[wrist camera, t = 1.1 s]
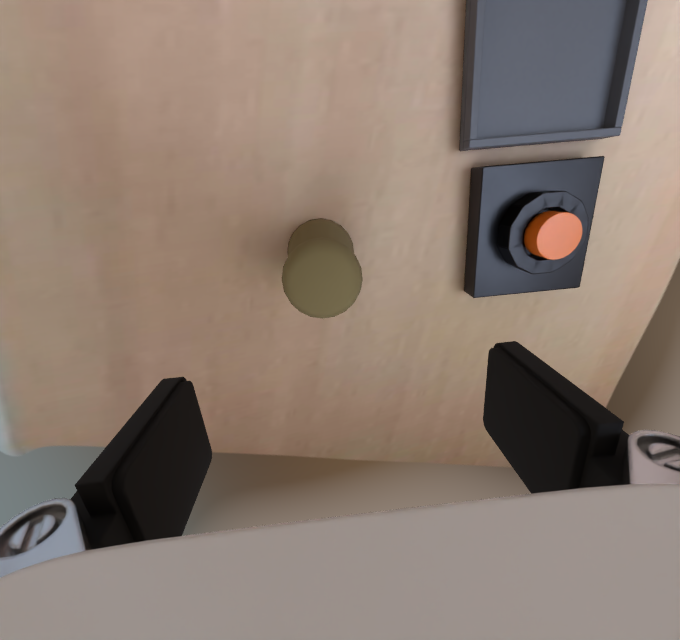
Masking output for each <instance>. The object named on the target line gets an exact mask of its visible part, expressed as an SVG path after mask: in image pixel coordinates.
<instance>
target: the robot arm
mask: <svg viewBox="0 0 680 640" xmlns="http://www.w3.org/2000/svg"><path fill="white" fill-rule="evenodd" d="M483 422H484V426H485V428H486V430H487V432H488V433H489V435H490V436H491V437H492V439H493V440H494V442H495V443H496V444H497V446H498V447H499V449H500V450H501V452H502V453H503V454H504V456H505V457H506V459H507V460H508V461H509V463H510V464H511V466H512V467H513V468H514V470H515V471H516V473H517V474H518V475H519V477H520V478H521V479H522V481H523V482H524V484H525V485H526V487H527V488H528V489H529V491H530V492H531V494H525V495H515V496H507V497H499V498H490V499H480V500H472V501H463V502H454V503H446V504H437V505H428V506H420V507H412V508H404V509H395V510H386V511H378V512H370V513H361V514H354V515H345V516H337V517H328V518H321V519H312V520H304V521H296V522H288V523H281V524H272V525H264V526H257V527H249V528H241V529H233V530H225V531H217V532H209V533H201V534H193V535H186V536H182V534H183V531H184V529H185V526H186V524H187V521H188V519H189V516H190V513H191V511H192V508H193V506H194V503H195V501H196V498H197V496H198V493H199V491H200V488H201V486H202V483H203V480H204V478H205V475H206V473H207V470H208V468H209V465H210V462H211V459H212V450H211V446H210V443H209V439H208V436H207V432H206V429H205V425H204V422H203V418H202V415H201V411H200V408H199V404H198V401H197V397H196V394H195V390H194V387H193V384H192V382H191V381H187V380H186V379H185V378H184V377H178V378H168V379H163V380H162V381H161V382H160V383H159V384H158V385H157V386H156V388H155V389H154V390H153V391H152V393H151V394H150V395H149V396H148V397H147V399H146V400H145V401H144V402H143V403H142V405H141V406H140V407H139V408H138V409H137V411H136V412H135V413H134V414H133V415H132V417H131V418H130V419H129V420H128V421H127V423H126V424H125V425H124V426H123V427H122V429H121V430H120V431H119V432H118V434H117V435H116V436H115V437H114V438H113V440H112V441H111V442H110V443H109V444H108V446H107V447H106V448H105V449H104V450H103V452H102V453H101V454H100V455H99V457H98V458H97V459H96V460H95V461H94V463H93V464H92V465H91V466H90V467H89V469H88V470H87V471H86V472H85V473H84V475H83V476H82V477H81V478H80V480H79V481H78V482H77V483H76V484H75V487H76V489H77V492H76V493H75V494H74V496H73V497H72V498H71V499H67V498H55V499H51V500H47V501H43V502H41V503H39V504H37V505H34V506H32V507H30V508H28V509H26V510H24V511H23V512H21V513H19V514H18V515H16V516H15V517H13V518H12V519H11V520H9V521H8V522H7V523H5V524H4V525H3V526H2V527H1V528H0V640H680V437H679V436H676V435H673V434H670V433H666V432H661V431H656V430H640V431H635V432H633V433H632V434H630V435H628V434H627V433H626V432H624V431H623V430H622V427H623V423H624V421H622V420H621V419H619V418H618V417H617V416H615V415H614V414H613V413H611V412H610V411H608V410H607V409H606V408H605V407H603V406H602V405H601V404H599V403H598V402H597V401H595V400H594V399H593V398H591V397H590V396H589V395H587V394H586V393H585V392H583V391H582V390H581V389H579V388H578V387H577V386H575V385H574V384H573V383H571V382H570V381H569V380H567V379H566V378H565V377H563V376H562V375H561V374H559V373H558V372H557V371H555V370H554V369H553V368H551V367H550V366H549V365H547V364H546V363H545V362H543V361H542V360H541V359H539V358H538V357H537V356H535V355H534V354H533V353H531V352H530V351H529V350H527V349H526V348H525V347H523V346H522V345H521V344H519V343H518V342H516V341H513V342H504V343H496V344H495V346H494V348H491V349H490V350H489V355H488V367H487V379H486V391H485V403H484V415H483Z"/></svg>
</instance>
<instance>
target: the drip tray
mask: <svg viewBox="0 0 680 640" xmlns="http://www.w3.org/2000/svg"><path fill="white" fill-rule="evenodd" d="M647 1H648V0H466V19H465V40H464V62H463V84H462V106H461V127H460V149H459V150H460V151H466V150H477V149H489V148H500V147H512V146H523V145H535V144H547V143H558V142H570V141H581V140H593V139H602V138H608V137H614V136H619V135H620V133H621V127H622V124H623V119H624V114H625V109H626V104H627V99H628V94H629V89H630V84H631V79H632V75H633V70H634V65H635V60H636V55H637V50H638V45H639V40H640V35H641V30H642V25H643V21H644V16H645V11H646V6H647Z"/></svg>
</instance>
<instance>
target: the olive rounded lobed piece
mask: <svg viewBox="0 0 680 640" xmlns="http://www.w3.org/2000/svg"><path fill="white" fill-rule="evenodd" d="M287 253H288V258H287V260H286V262H285V264H284V266H283V273H282V283H283V288H284V292H285V294H286V296H287V297H288V299H289V301H290V302H291V304H292V305H293V306H294V307H295V308H297V309H298V310H299V311H300V312H302V313H304V314H306V315H308V316H310V317H316V318H329V317H335V316H337V315H339V314H341V313H343V312H345V311H346V310H347V309H348V308H349V307H350V306H351V305H352V304H353V303H354V302H355V300H356V298H357V296H358V295H359V293H360V290H361V285H362V271H361V266H360V264H359V262H358V260H357V258H356V256H355V254H354V250H353V243H352V241H351V238H350V236H349V234H348V233H347V232H346V231H345V230H344V228H343V227H342V226H341V225H339V224H337V223H335V222H333V221H331V220H326V219H315V220H310V221H308V222H306V223H304V224H302V225H300V226H299V227H298V228H297V229H296V230H295V232H294V233H293V234H292V237H291V239H290V241H289V244H288V252H287Z"/></svg>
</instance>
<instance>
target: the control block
mask: <svg viewBox="0 0 680 640" xmlns="http://www.w3.org/2000/svg"><path fill="white" fill-rule="evenodd" d="M603 162H604V156H599V157H587V158H576V159H565V160H553V161H542V162H531V163H519V164H508V165H496V166H485V167H477V168H472V169H471V184H470V201H469V218H468V235H467V252H466V268H465V285H464V291H465V292H466V293H468V294H469V295H470V296H472V297H473V298H477V297H487V296H497V295H507V294H518V293H528V292H538V291H548V290H558V289H568V288H578V287H580V282H581V277H582V271H583V266H584V261H585V256H586V251H587V245H588V240H589V235H590V230H591V225H592V219H593V214H594V209H595V204H596V199H597V193H598V188H599V183H600V178H601V173H602V167H603ZM546 211H559V212H568V213H572V214H574V215H576V216H577V217H578V218H579V220H580V221H581V224H582V237H581V240H580V242H579V244H578V246H577V247H576V248H575V249H574V250H573V252H571V253H570V254H569V255H567V256H566V257H564V258H561V259H557V260H550V259H546V258H543V257H540V256H537V255H534V254H532V253H530V252H529V251H528V250H527V248H526V246H525V243H524V234H525V230H526V228H527V226H528V224H529V223H530V221H531V220H532V219H533V218H534V217H536V216H537V215H539V214H540V213H543V212H546Z"/></svg>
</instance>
